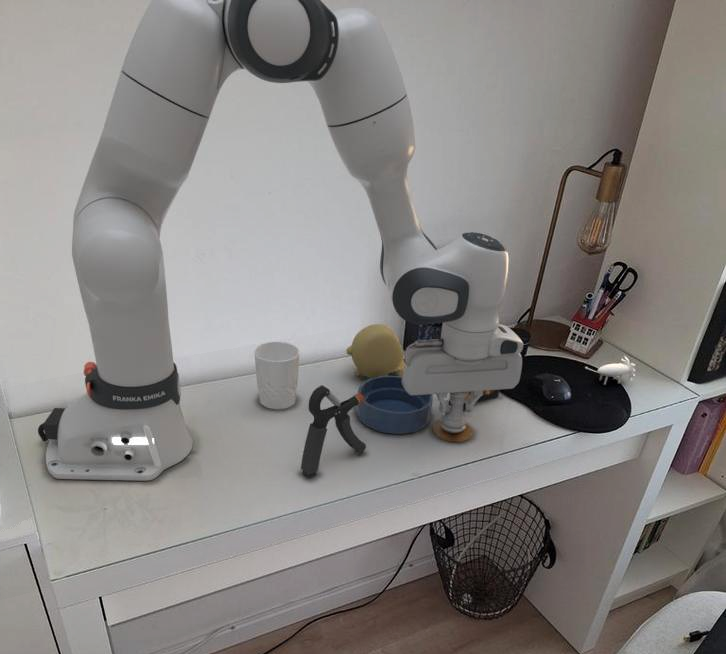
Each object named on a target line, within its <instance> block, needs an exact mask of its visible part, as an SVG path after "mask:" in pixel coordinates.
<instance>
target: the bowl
mask: <svg viewBox="0 0 726 654" xmlns="http://www.w3.org/2000/svg"><path fill="white" fill-rule="evenodd" d="M357 393H361V394H362V395H363V397H364V402H363V403H362V404H360V405H357V406H356V416H357V418H358V420H359V421H360V422H361V423H362V424H363V425H364V426H366V427H368V428H370V429H372V430H373V431H377V432H380V433H385V434H392V435H393V434H395V435H402V434H412V433H415V432H418V431H421V430H422V429H424V428H425V427H427V426H428V424H429V422H430V421H431V415H432V410H433V409H432V408H433V403H434V398H433V397H434V396H433V395H434V394H426V395H409V394H408V393H407V392H406V390H405V389H404V387H403V385H402V376H379V377H375V378H369V379H366V380H365V381H363V382H362V383H361V384H360V385H359V386H358V389H357Z"/></svg>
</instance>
